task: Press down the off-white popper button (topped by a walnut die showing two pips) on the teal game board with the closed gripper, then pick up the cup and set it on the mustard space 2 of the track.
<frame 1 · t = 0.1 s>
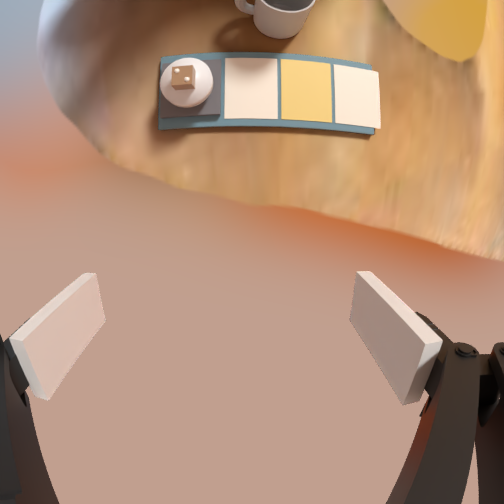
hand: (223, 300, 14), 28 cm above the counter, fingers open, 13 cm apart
cup: (268, 19, 33), on the counter
game board: (269, 89, 36), on the counter
popper: (185, 80, 30), point 6 cm above the counter, slide at 0.0 cm
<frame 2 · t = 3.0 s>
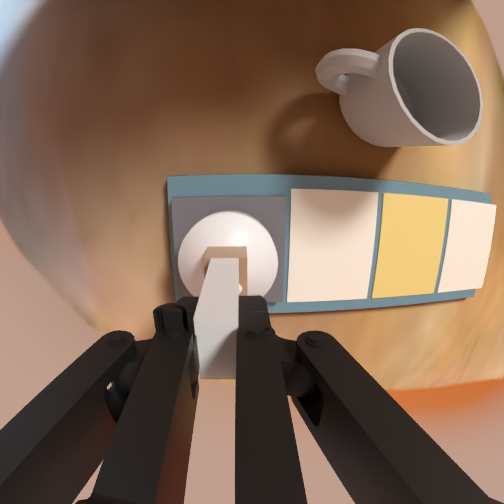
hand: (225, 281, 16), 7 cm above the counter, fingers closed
cup: (361, 100, 20), on the counter
game board: (358, 244, 24), on the counter
popper: (227, 265, 19), point 5 cm above the counter, slide at -0.8 cm, touching gripper
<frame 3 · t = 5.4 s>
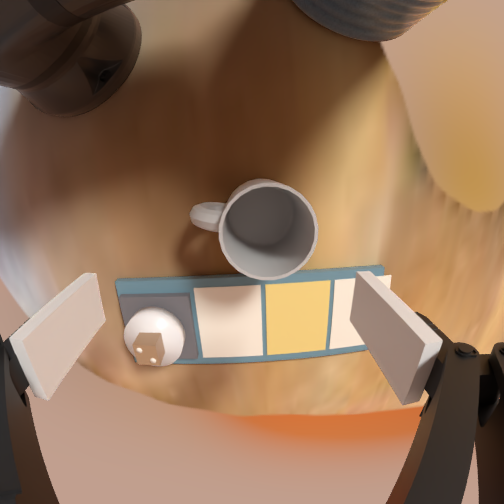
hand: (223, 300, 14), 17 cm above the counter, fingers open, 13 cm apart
cup: (247, 211, 30), on the counter
game board: (252, 318, 33), on the counter
popper: (151, 343, 28), point 5 cm above the counter, slide at -0.8 cm
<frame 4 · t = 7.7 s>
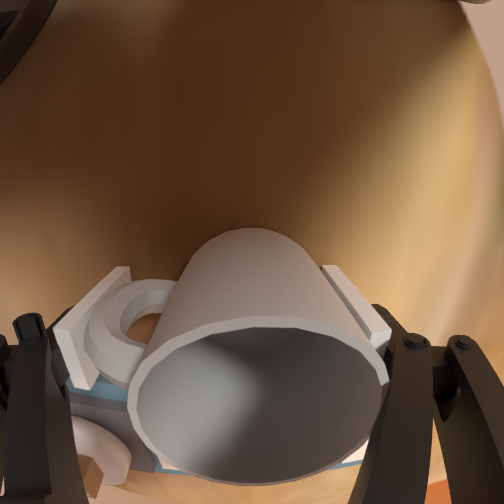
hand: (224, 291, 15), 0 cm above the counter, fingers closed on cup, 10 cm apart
cup: (224, 287, 15), on the counter, touching gripper
game board: (232, 434, 19), on the counter
popper: (83, 464, 14), point 5 cm above the counter, slide at -0.8 cm
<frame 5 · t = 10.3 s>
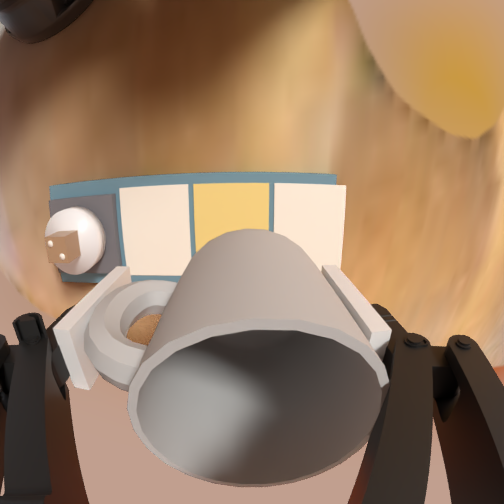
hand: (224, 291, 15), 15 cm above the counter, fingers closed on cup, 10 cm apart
cup: (224, 288, 15), point 14 cm above the counter, touching gripper
game board: (181, 229, 29), on the counter
popper: (68, 243, 24), point 5 cm above the counter, slide at -0.8 cm
when the fingers open (3 cm above the counter, at t = 12.9 s): cup drops 1 cm, resting on game board.
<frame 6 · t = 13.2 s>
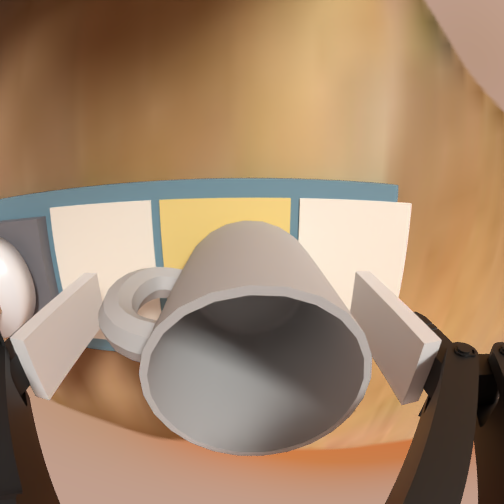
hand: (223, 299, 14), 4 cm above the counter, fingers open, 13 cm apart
cup: (224, 276, 17), point 1 cm above the counter, touching game board
game board: (145, 272, 17), on the counter
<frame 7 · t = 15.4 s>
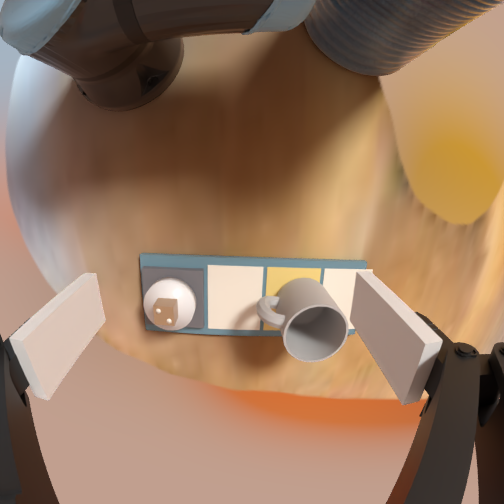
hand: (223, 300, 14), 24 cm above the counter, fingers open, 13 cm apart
cup: (291, 299, 39), point 1 cm above the counter, touching game board
game board: (253, 296, 39), on the counter
popper: (167, 308, 34), point 5 cm above the counter, slide at -0.8 cm
vase: (357, 30, 31), on the counter
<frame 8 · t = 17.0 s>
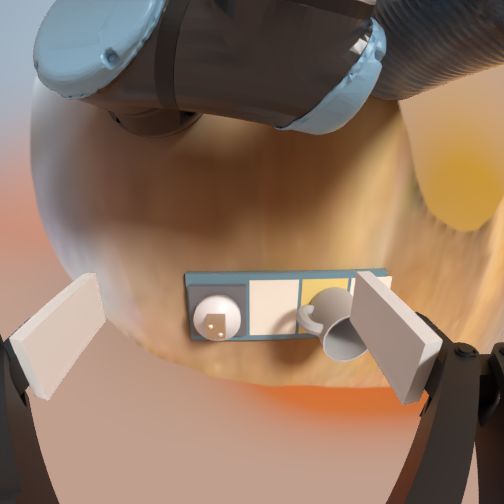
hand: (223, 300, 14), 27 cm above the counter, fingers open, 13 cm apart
cup: (322, 305, 43), point 1 cm above the counter, touching game board
game board: (289, 305, 44), on the counter
popper: (216, 322, 39), point 5 cm above the counter, slide at -0.8 cm
vase: (377, 52, 33), on the counter
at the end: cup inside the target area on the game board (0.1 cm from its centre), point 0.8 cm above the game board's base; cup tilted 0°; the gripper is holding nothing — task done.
